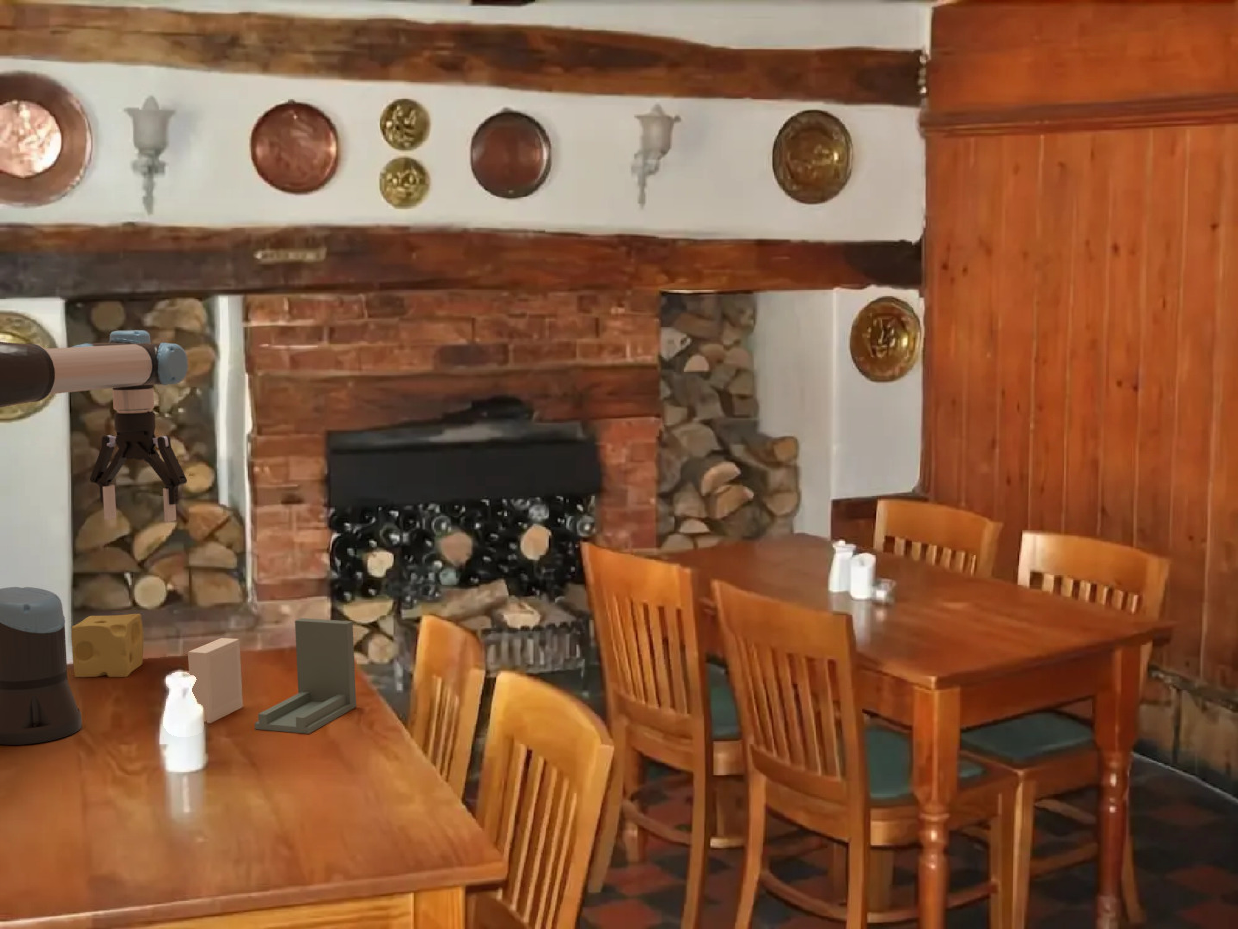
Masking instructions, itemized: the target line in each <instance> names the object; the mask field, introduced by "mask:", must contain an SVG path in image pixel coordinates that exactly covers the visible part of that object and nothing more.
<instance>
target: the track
mask: <svg viewBox="0 0 1238 929" xmlns="http://www.w3.org/2000/svg"><path fill="white" fill-rule="evenodd" d="M353 623H354V621H351V620H337V619H335V620H334V619H318V618H305V617H304V618H303V617H300V618H298V619H296V620H294V625H295V626H294V630H295V648H296V649H295V650H296V673H297V693H296V694H294V695H292V696H290V697H289V698H286V699H285V700H283V701H281V702H278V703H277V704H275V705H273V706H271V707H269V708H267V709H266V710H263V711H261V712H260V713H258V714H257V715H258V717H257V718H258V720H257V721H256V722H254V730H261V731H271V732H273V731H274V732H282V733H283V732H286V733H294V734H295V733H296V734H305V735H306V734H308V735H309V734H311V733H312V732H314V731H316V730H318V729H320V728H323V727H324V726H325V725H327V724H329V723H330V722H332V721H334V720H336V719H338V718H340V717H341V716H343V715H345V714H347V713H348V712H350V711H352V710H353V709H355V708H357V697H356V695H357V694H356V693H357V692H356V673H355V671H356V669H355V668H356V667H355V648H354V646H355V645H354V626H353Z"/></svg>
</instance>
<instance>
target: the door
mask: <svg viewBox="0 0 1238 929" xmlns="http://www.w3.org/2000/svg"><path fill="white" fill-rule="evenodd" d="M240 645H241V644H240V638H226V637H220V638H218V639H216V640H214V641H211V642H209V643H206V644H203V645H202V646H201V645H200V646H199V647H196V648H194V649H191V650H190V651H188V652H187V657H188V658H187V661H188V675H189V674H190V675H194V676H195V677H196V679H197V680H196V682H195V684H194V686H193V688H192V692H193V694H194V696H195V698H196V699H197V702H199V703H200V704H201V705H203V707H204V710H205V716H206V720H207V723H206V724H212V723H214V722H216V721H218V720H219V719H222V718H223V717H226V716H228V715H230V714H231V713H233V712H235V711H237V710H240V709H242V708H243V707H244V702H243V686H242V682H243V681H242V667H241V666H242V665H241V663H242V662H241V646H240Z"/></svg>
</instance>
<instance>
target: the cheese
mask: <svg viewBox="0 0 1238 929" xmlns="http://www.w3.org/2000/svg"><path fill="white" fill-rule="evenodd" d="M143 627H144V626H143V620H142V615H141V613H129V614H119V615H118V614H116V615H114V614H113V615H90V616H88V617H87V616H86V617H85V618H84V619H83V620H82V621H80V622H78V623H77V624H75V625H73V626H72V627H71V633H70V634H71V647H72V648H71V649H72V651H71V652H72V653H71V654H72V665H73V671H74V672H73V673H74V677H75V678H95V677H101V676H107V677H108V678H109V677H111V678H127V677H128V676H130V674H131V673H132V672H133V671H135V670H136V669H138V668H139V667H141V665H143V659H144V628H143Z"/></svg>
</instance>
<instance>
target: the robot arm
mask: <svg viewBox="0 0 1238 929" xmlns="http://www.w3.org/2000/svg"><path fill="white" fill-rule="evenodd" d="M188 363H189V361H188V356H187V353H186V351H185V349H184V348H183V347H182V346H181V345H179V344H177V343H168V342H161V343H160V342H159V343H158V342H157V343H155V342H152V343H151V335H150V333H149V332H148V331H146V330H143V329H142V330H139V329H137V330H136V329H135V330H133V329H132V330H115V331H112V332H111V333H110V334H109V341H108V342H96V343H94V342H93V343H90V342H89V343H86V342H85V343H82V344H76V345H73V346H71V347H55V348H54V347H50V348H46V347H43V346H42V345H40V344H37V343H32V342H31V343H29V342H28V343H18V342H6V341H0V409H1V408H6V407H10V406H16V405H22V404H27V403H36V402H40V401H43V400H45V399H47V398H48V396H50V395H53V394H54V395H55V394H64V393H65V394H66V393H75V392H85V391H95V390H105V389H106V390H108V389H112V403H113V404H112V408H113V410H115V411H116V412H114V414H113V421H114V430H115V432H116V436H115V435H113V434H109V435H103V436H102V437H101V447H100V451H99V453H98V455H97V457H96V458H97V459H96V460H95V464H94V467H93V469H92V472H91V475H90V477H89V481H90V483H92V484H94V483H95V484H96V485H98V486H99V496H100V502H101V503H103V516H104V521H109V520H113V519H117V506H116V504H117V502H116V488H115V487H116V486H115V485H114V484H113V481H114V479H115V477H116V476H117V474H119V472H120V470H121V469H122V468H123V466H124V464H125V463H126V462H127V460H137V461H138V460H144V461H145V462H146V463H148V464H149V466H150V467H151V468H152V470H153V471H154V472H155V474H156V475H157V476H158V477H159V479H160V480H161V481H162V482H163V484H164V485H165V487H164V488H162V496H163V498H162V499H163V514H164V515H163V516H164V523H171V522H174V521H177V511H176V510H177V507H176V505H178V504H179V487H180V486H182V485H185V484H186V483H187V482H188V479H187V477H186V474H185V472H184V471H183V469H182V467H181V465H180V462H179V461H178V458H177V455H176V454H175V452H174V450H173V448H172V442H171V437H170V436H169V435H164V436H158V437H156V435H155V431H156V413H155V412H154V411H153V409H154V408H155V395H154V393H155V392H154V385H160V386H161V385H162V386H168V385H178V384H180V383H181V382H182V381H183V380H185V377H186V376H187V374H188V370H189V369H188V368H189V365H188ZM115 447H117V448H118V450H117V451H116V453H115V454H114V456H113V459H112V460H111V458H112V455H113V453H114V450H115ZM155 447H156V448H158V450H159V452H158V450H156V448H155ZM160 455H161V457H162V458H161V457H160ZM110 461H111V462H110ZM65 624H66V620H65V615H64V611H63V603H62V600H61V599H60V597H59V596H58V595H57V594H55V592H53V591H50V590H46V589H43V588H40V587H29V586H25V587H19V586H11V587H2V588H0V745H12V746H13V745H14V746H15V745H16V746H17V745H19V746H20V745H32V744H38V743H46V742H50V741H55V740H59V739H63V738H66V737H68V736H71V735H74V734H75V733H77V732H79V731H80V730H81V729H82V727H83V726H82V725H83V720H82V712H81V710H80V708H79V707H78V706H77V705H78V704H77V703H76V700H75V699H76V698H75V697H74V695H73V691H72V689H71V687H70V684H69V680H68V664H67V662H68V661H67V645H66V644H67V643H66V641H67V640H66V626H65Z"/></svg>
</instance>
